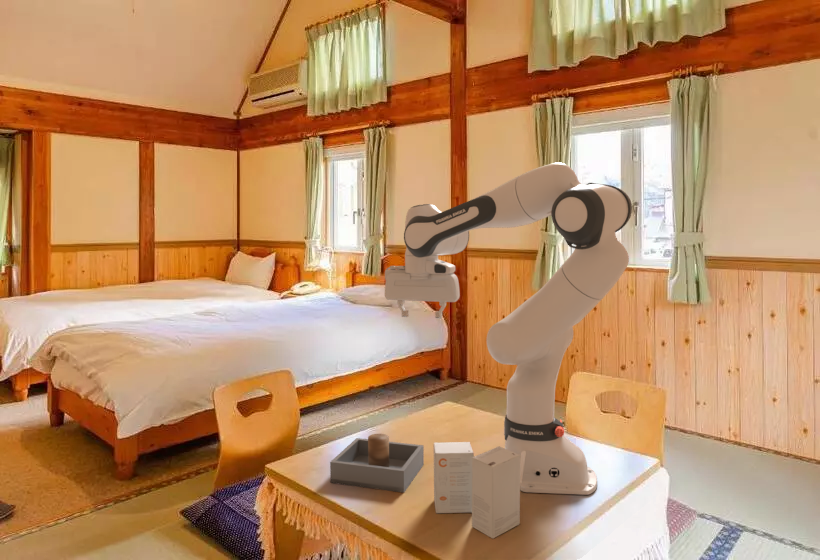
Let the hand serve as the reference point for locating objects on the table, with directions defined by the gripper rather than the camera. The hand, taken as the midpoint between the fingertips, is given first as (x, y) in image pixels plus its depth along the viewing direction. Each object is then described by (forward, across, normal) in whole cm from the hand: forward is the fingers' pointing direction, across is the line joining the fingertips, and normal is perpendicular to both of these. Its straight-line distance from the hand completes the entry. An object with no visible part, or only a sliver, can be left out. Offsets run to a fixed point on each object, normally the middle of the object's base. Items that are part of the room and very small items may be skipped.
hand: (421, 317), depth 155 cm
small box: (+35, +16, -32) cm, 50 cm away
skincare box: (+35, +26, -38) cm, 58 cm away
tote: (+35, -5, -21) cm, 41 cm away
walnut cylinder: (+34, -5, -21) cm, 40 cm away
